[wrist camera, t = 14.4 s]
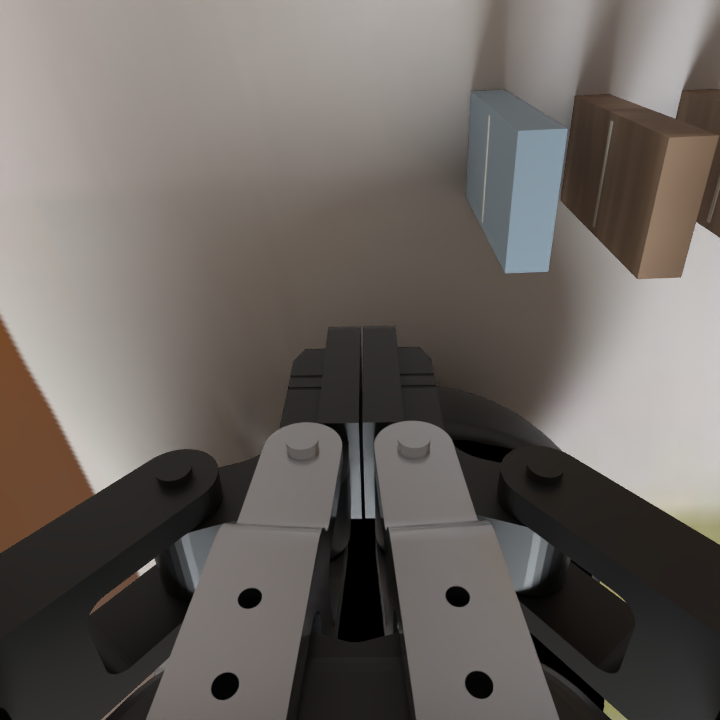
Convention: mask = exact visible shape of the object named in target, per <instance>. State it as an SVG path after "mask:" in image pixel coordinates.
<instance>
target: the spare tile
mask: <svg viewBox="0 0 720 720" xmlns="http://www.w3.org/2000/svg"><path fill="white" fill-rule="evenodd" d="M567 131H568V128H566V127H565V126H563V125H561V124H560V123H558V122H557V121H555V120H553V119H552V118H550V117H548V116H547V115H545V114H544V113H542V112H540V111H539V110H537V109H536V108H534V107H532V106H531V105H529V104H528V103H526V102H524V101H523V100H521V99H520V98H518V97H516V96H515V95H513V94H512V93H510V92H508V91H507V90H505V89H504V90H484V91H471V101H470V121H469V140H468V160H467V180H466V198H467V200H468V202H469V204H470V206H471V208H472V210H473V212H474V214H475V216H476V218H477V220H478V222H479V224H480V226H481V228H482V230H483V232H484V234H485V236H486V237H487V239H488V241H489V243H490V245H491V247H492V249H493V251H494V253H495V255H496V257H497V259H498V261H499V263H500V265H501V267H502V269H503V271H504V273H529V272H548V270H549V263H550V256H551V248H552V241H553V234H554V226H555V219H556V212H557V205H558V197H559V190H560V183H561V175H562V168H563V161H564V153H565V146H566V139H567Z"/></svg>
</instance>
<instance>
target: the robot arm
mask: <svg viewBox="0 0 720 720" xmlns="http://www.w3.org/2000/svg"><path fill="white" fill-rule="evenodd" d="M362 433H363V456H364V491H365V518H375V533H376V560H377V569H378V578H379V587H380V596H381V605H382V614H383V623H384V632H385V636H382V637H379V638H375V639H371V640H367V641H363V642H347V641H343V640H339V639H337V637H338V629H339V621H340V613H341V605H342V597H343V589H344V581H345V573H346V565H347V557H348V541H349V539H350V529H351V519H362ZM154 558H155V561H156V565H155V566H153V567H152V568H151V569H149V570H148V571H147V572H146V573H144V574H143V575H142V576H140V577H139V578H138V579H136V580H135V581H134V582H132V583H131V584H130V585H129V586H128V587H126V588H125V589H123V590H122V591H121V592H120V593H118V594H117V595H115V596H114V597H113V598H112V599H111V600H109V601H108V602H106V603H105V604H104V605H102V606H101V607H100V608H99V609H97V610H96V611H95V612H93V613H92V614H91V615H89V614H90V612H91V610H92V609H93V607H94V606H95V605H96V603H97V602H98V601H99V600H100V599H101V598H102V597H104V596H105V595H106V594H107V593H109V592H110V591H111V590H113V589H114V588H115V587H117V586H118V585H119V584H121V583H122V582H123V581H125V580H126V579H127V578H129V577H130V576H131V575H133V574H134V573H135V572H137V571H138V570H139V569H141V568H142V567H143V566H145V565H146V564H147V563H149V562H150V561H151V560H152V559H154ZM570 560H573V561H574V562H575V563H577V564H578V565H579V566H581V567H582V568H583V569H585V570H586V571H587V572H589V573H590V574H591V575H593V576H594V577H596V578H597V579H598V580H600V581H601V582H602V583H604V584H605V585H606V586H608V587H609V588H610V589H612V590H613V591H614V592H616V593H617V594H618V595H619V596H621V597H622V598H623V599H624V600H625V602H624V601H623V600H622V599H620V598H619V597H618V596H616V595H615V594H613V593H612V592H611V591H609V590H608V589H607V588H605V587H604V586H603V585H601V584H600V583H599V582H597V581H596V580H595V579H593V578H592V577H591V576H589V575H588V574H587V573H585V572H584V571H583V570H581V569H580V568H579V567H577V566H576V565H575V564H573V563H572V562H570ZM529 632H530V633H531V634H533V635H534V636H535V637H536V638H537V639H538V640H539V641H540V642H542V643H543V644H544V645H545V646H546V647H547V648H548V649H549V650H551V651H552V652H553V653H554V654H555V655H556V656H557V657H558V658H559V659H561V660H562V661H563V662H564V663H565V664H566V665H567V666H568V667H570V668H571V669H572V670H573V671H574V672H575V673H576V674H577V675H579V676H580V677H581V678H582V679H583V680H584V681H585V682H586V683H587V684H589V685H590V686H591V687H592V688H593V689H594V690H595V691H596V692H598V693H599V694H600V695H601V696H602V697H603V698H604V699H605V700H607V701H608V702H609V703H610V704H611V705H612V706H613V707H614V708H615V709H617V710H618V711H619V712H620V713H621V714H622V715H623V716H624V717H626V718H627V719H628V720H720V545H719V544H717V543H716V542H714V541H712V540H711V539H709V538H707V537H706V536H704V535H702V534H701V533H699V532H697V531H696V530H694V529H692V528H691V527H689V526H687V525H686V524H684V523H682V522H681V521H679V520H677V519H676V518H674V517H672V516H671V515H669V514H667V513H666V512H664V511H662V510H661V509H659V508H657V507H656V506H654V505H652V504H650V503H649V502H647V501H645V500H644V499H642V498H640V497H639V496H637V495H635V494H634V493H632V492H630V491H629V490H627V489H625V488H624V487H622V486H620V485H619V484H617V483H615V482H614V481H612V480H610V479H609V478H607V477H605V476H604V475H602V474H600V473H599V472H597V471H595V470H594V469H592V468H590V467H589V466H587V465H585V464H584V463H582V462H580V461H579V460H577V459H575V458H574V457H572V456H570V455H568V454H566V453H564V452H562V451H560V450H557V449H554V448H550V447H545V446H524V447H520V448H517V449H514V450H512V451H511V452H509V453H508V454H507V455H506V456H505V457H504V458H503V460H502V462H501V463H499V462H494V461H489V460H485V459H481V458H477V457H474V456H471V455H469V454H466V453H465V452H463V451H461V450H459V449H458V448H456V447H455V446H454V444H453V442H452V439H451V438H450V436H449V435H448V434H447V433H446V432H445V431H444V426H443V421H442V416H441V410H440V405H439V400H438V394H437V389H436V384H435V378H434V373H433V367H432V362H431V359H430V358H429V357H428V356H427V355H426V354H425V352H424V351H423V350H422V349H421V348H420V347H397V338H396V328H395V326H363V394H362V356H361V327H329V328H328V334H327V343H326V349H305V350H304V351H303V352H302V353H301V354H300V355H299V356H298V357H297V358H296V359H295V361H294V362H293V366H292V371H291V378H290V381H289V386H288V391H287V395H286V400H285V405H284V410H283V415H282V420H281V425H280V429H279V430H277V431H276V432H274V433H273V434H272V435H271V436H270V437H269V438H268V439H267V440H266V442H265V444H264V447H263V449H262V452H261V454H260V455H258V456H256V457H255V458H252V459H250V460H247V461H244V462H240V463H236V464H232V465H228V466H224V467H220V468H218V465H217V463H216V461H215V460H214V458H213V457H211V456H210V455H209V454H207V453H205V452H202V451H199V450H192V449H183V450H176V451H171V452H167V453H164V454H162V455H159V456H157V457H155V458H153V459H152V460H150V461H148V462H147V463H145V464H143V465H142V466H140V467H139V468H137V469H135V470H134V471H132V472H131V473H129V474H127V475H126V476H124V477H123V478H121V479H119V480H118V481H116V482H115V483H113V484H111V485H110V486H108V487H106V488H105V489H103V490H102V491H100V492H98V493H97V494H95V495H94V496H92V497H90V498H89V499H87V500H86V501H84V502H82V503H81V504H79V505H77V506H76V507H74V508H73V509H71V510H69V511H68V512H66V513H65V514H63V515H61V516H60V517H58V518H57V519H55V520H53V521H52V522H50V523H48V524H47V525H45V526H44V527H42V528H40V529H39V530H37V531H36V532H34V533H32V534H31V535H29V536H28V537H26V538H24V539H23V540H21V541H19V542H18V543H16V544H15V545H13V546H11V547H10V548H8V549H7V550H5V551H3V552H2V553H0V720H101V719H102V718H103V717H104V716H105V715H106V714H107V713H109V712H110V711H111V710H112V709H113V708H114V707H115V706H116V705H117V704H119V703H120V702H121V701H122V700H123V699H124V698H125V697H126V696H127V695H128V694H129V693H131V692H132V691H133V690H134V689H135V688H136V687H137V686H138V685H140V684H141V683H142V682H143V681H144V680H145V679H146V678H147V677H148V676H149V675H150V674H152V673H153V672H154V671H155V673H154V677H153V678H151V679H150V680H149V681H147V682H146V683H145V684H144V685H142V686H141V687H140V688H138V689H137V690H136V691H135V692H134V693H133V694H132V695H130V696H129V697H128V698H127V699H126V700H125V701H124V702H123V703H122V704H121V705H120V706H119V707H118V708H117V709H116V710H115V711H114V712H113V713H112V714H111V715H109V716H108V717H107V718H106V720H611V719H610V718H609V717H608V716H607V715H606V714H605V713H604V712H603V711H602V710H601V709H600V708H599V707H598V706H597V705H595V704H594V703H593V702H592V701H591V700H590V699H589V698H588V697H587V696H586V695H585V694H584V693H583V692H582V691H581V690H579V689H578V688H577V687H576V686H575V685H573V684H572V683H571V682H570V681H568V680H567V679H566V678H564V677H563V676H562V675H560V674H559V673H557V672H556V671H554V670H552V669H551V668H549V667H548V666H546V665H544V664H542V663H540V662H539V659H538V656H537V653H536V650H535V647H534V644H533V641H532V638H531V635H530V633H529Z"/></svg>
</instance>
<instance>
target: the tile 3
mask: <svg viewBox="0 0 720 720" xmlns="http://www.w3.org/2000/svg"><path fill="white" fill-rule="evenodd" d="M676 119H677V120H679V121H682V122H685V123H687V124H690V125H693V126H696V127H698V128H701V129H704V130H706V131H709V132H712V133H714V134H717V135H719V138H718V142H717V146H716V149H715V153H714V157H713V161H712V164H711V168H710V172H709V175H708V179H707V183H706V187H705V190H704V194H703V198H702V201H701V205H700V209H699V213H698V216H697V220H696V222H697V223H699V224H700V225H702V226H703V227H705V228H706V229H708V230H709V231H711V232H712V233H714V234H715V235H717V236H718V237H720V90H719V89H708V90H688V91H682V94H681V99H680V103H679V108H678V112H677V116H676Z"/></svg>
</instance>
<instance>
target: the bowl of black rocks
mask: <svg viewBox="0 0 720 720" xmlns="http://www.w3.org/2000/svg"><path fill="white" fill-rule="evenodd" d="M436 389H437V394H438V400H439V405H440V410H441V416H442V421H443V426H444V431H445V432H446V433H447V434H448V435H449V436H450V438H451V439H452V442H453V444H454V446H455V447H456V448H458V449H459V450H461V451H463V452H465V453H466V454H469V455H471V456H474V457H477V458H481V459H485V460H489V461H494V462H499V463H501V462H502V460H503V458H504V457H505V456H506V455H507V454H508V453H509V452H511V451H512V450H514V449H517V448H520V447H524V446H545V447H550V448H554V449H557V450H560V449H559V448H558V447H557V446H556V445H555V444H554V443H553V442H552V441H551V440H550V439H549V438H548V437H547V436H546V435H544V434H543V433H542V432H541V431H540V430H538V429H537V428H536V427H535V426H533V425H532V424H531V423H529V422H528V421H526V420H525V419H523V418H522V417H520V416H519V415H517V414H516V413H514V412H512V411H510V410H508V409H507V408H505V407H503V406H501V405H499V404H497V403H495V402H493V401H490V400H488V399H486V398H483V397H481V396H478V395H474V394H471V393H468V392H464V391H461V390H457V389H452V388H448V387H441V386H436ZM362 394H363V392H362ZM560 451H561V450H560ZM570 562H572V563H573V564H575V565H576V566H577V567H579V568H580V569H581V570H583V571H584V572H585V573H587V574H588V575H589V576H591V577H592V578H593V579H595V580H596V581H597V582H599V583H600V580H598V579H597V578H596V577H594V576H593V575H591V574H590V573H589V572H587V571H586V570H585V569H583V568H582V567H581V566H579V565H578V564H577V563H575V562H574V561H573V560H570ZM529 633H530V632H529ZM530 635H531V638H532V641H533V644H534V647H535V650H536V653H537V656H538V659H539V662H540V663H542V664H544V665H546V666H548V667H549V668H551V669H552V670H554V671H556V672H557V673H559V674H560V675H562V676H563V677H564V678H566V679H567V680H568V681H570V682H571V683H572V684H573V685H575V686H576V687H577V688H578V689H579V690H581V691H582V692H583V693H584V694H585V695H586V696H587V697H588V698H589V699H590V700H591V701H592V702H593V703H594V704H595V705H597V706H598V707H599V708H600V709H601V710H602V711H603V709H604V698H603V697H602V696H601V695H600V694H599V693H598V692H596V691H595V690H594V689H593V688H592V687H591V686H590V685H589V684H587V683H586V682H585V681H584V680H583V679H582V678H581V677H580V676H579V675H577V674H576V673H575V672H574V671H573V670H572V669H571V668H570V667H568V666H567V665H566V664H565V663H564V662H563V661H562V660H561V659H559V658H558V657H557V656H556V655H555V654H554V653H553V652H552V651H551V650H549V649H548V648H547V647H546V646H545V645H544V644H543V643H542V642H540V641H539V640H538V639H537V638H536V637H535V636H534V635H533V634H531V633H530ZM382 636H385V632H384V623H383V614H382V605H381V596H380V587H379V578H378V569H377V560H376V533H375V518H365V491H364V456H363V433H362V519H351V529H350V539H349V541H348V557H347V565H346V573H345V581H344V589H343V597H342V605H341V613H340V621H339V629H338V637H337V639H339V640H343V641H347V642H363V641H367V640H371V639H375V638H379V637H382Z"/></svg>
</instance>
